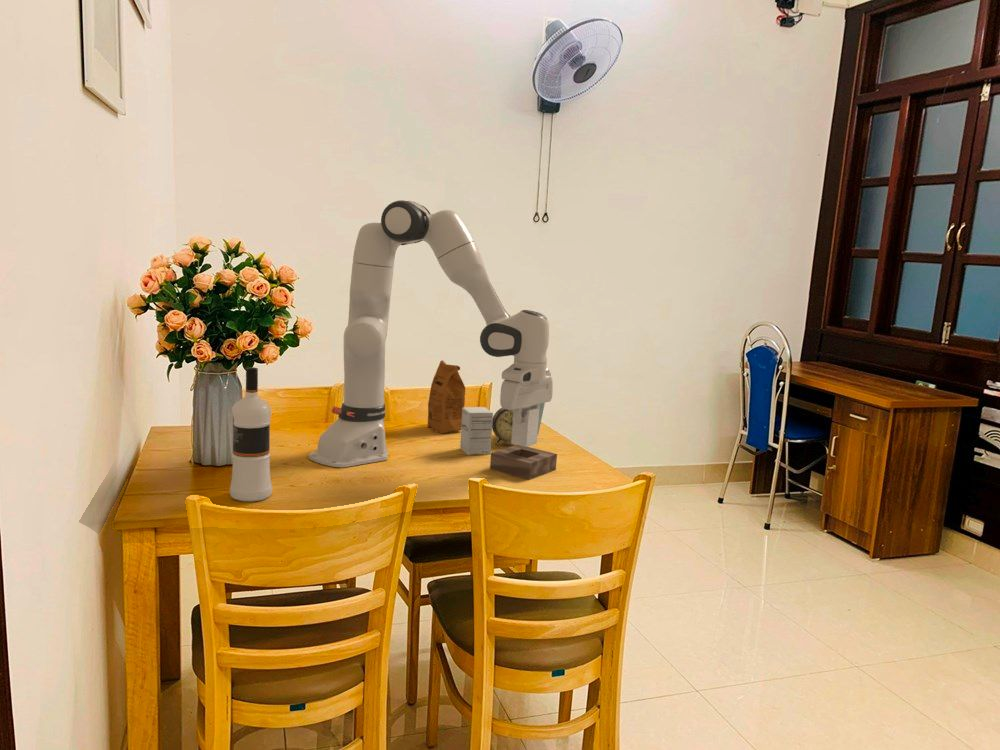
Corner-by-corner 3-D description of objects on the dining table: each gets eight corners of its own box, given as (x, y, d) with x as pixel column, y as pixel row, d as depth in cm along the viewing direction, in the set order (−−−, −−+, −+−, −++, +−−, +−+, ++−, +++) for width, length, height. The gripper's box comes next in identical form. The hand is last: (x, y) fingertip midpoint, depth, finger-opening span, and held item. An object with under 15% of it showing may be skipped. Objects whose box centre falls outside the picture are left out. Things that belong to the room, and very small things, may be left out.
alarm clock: (492, 446, 229) (496, 394, 226) (489, 442, 234) (492, 390, 232) (527, 446, 232) (531, 394, 229) (523, 442, 237) (527, 391, 234)
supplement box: (459, 448, 225) (461, 406, 223) (483, 447, 228) (485, 406, 225) (466, 455, 218) (469, 412, 216) (491, 454, 221) (493, 412, 219)
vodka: (266, 503, 170) (268, 372, 165) (224, 502, 169) (224, 370, 164) (276, 490, 179) (277, 365, 174) (236, 488, 179) (236, 363, 173)
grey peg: (526, 447, 203) (529, 410, 202) (511, 443, 206) (513, 407, 205) (536, 443, 207) (539, 408, 206) (521, 440, 210) (524, 404, 209)
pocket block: (529, 479, 199) (530, 463, 198) (490, 468, 207) (490, 452, 206) (555, 469, 210) (557, 453, 209) (517, 459, 217) (518, 444, 216)
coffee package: (450, 423, 254) (453, 359, 251) (466, 432, 244) (470, 365, 240) (422, 425, 249) (425, 359, 246) (438, 435, 239) (442, 366, 235)
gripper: (541, 366, 214) (537, 414, 216) (497, 373, 197) (494, 424, 200) (560, 369, 210) (555, 418, 212) (517, 376, 194) (513, 429, 196)
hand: (525, 421), depth 206 cm, fingers closed on grey peg, 5 cm apart
